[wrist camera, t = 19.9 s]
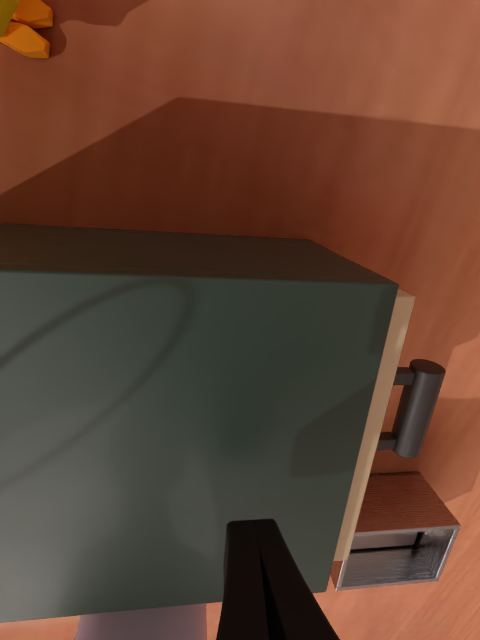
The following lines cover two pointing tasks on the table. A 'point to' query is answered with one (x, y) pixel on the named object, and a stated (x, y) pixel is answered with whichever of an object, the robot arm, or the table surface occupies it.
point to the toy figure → (25, 26)
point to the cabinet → (173, 409)
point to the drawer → (410, 416)
